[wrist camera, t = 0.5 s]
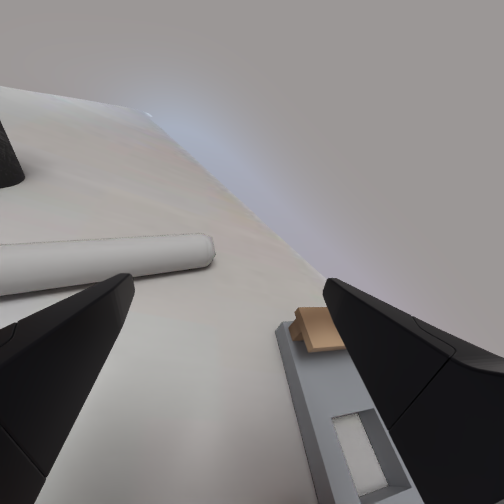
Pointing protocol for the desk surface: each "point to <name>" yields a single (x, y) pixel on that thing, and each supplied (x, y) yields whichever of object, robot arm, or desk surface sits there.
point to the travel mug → (8, 162)
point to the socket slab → (322, 428)
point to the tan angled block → (315, 329)
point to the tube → (98, 260)
